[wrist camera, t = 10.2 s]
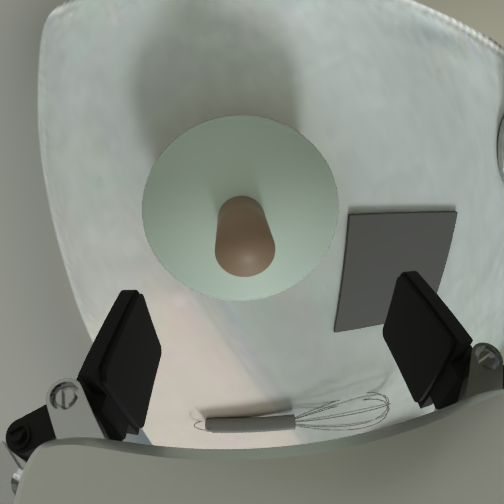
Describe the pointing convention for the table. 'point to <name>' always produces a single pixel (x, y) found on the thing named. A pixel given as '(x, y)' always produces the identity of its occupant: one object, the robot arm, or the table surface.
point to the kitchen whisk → (275, 421)
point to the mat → (389, 260)
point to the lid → (240, 208)
